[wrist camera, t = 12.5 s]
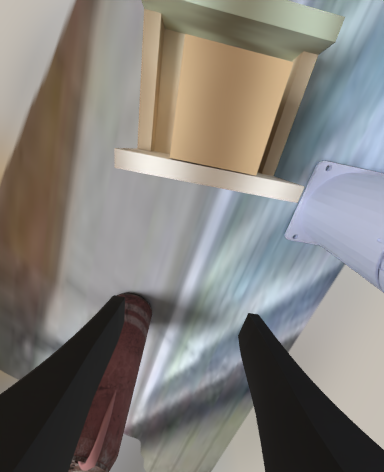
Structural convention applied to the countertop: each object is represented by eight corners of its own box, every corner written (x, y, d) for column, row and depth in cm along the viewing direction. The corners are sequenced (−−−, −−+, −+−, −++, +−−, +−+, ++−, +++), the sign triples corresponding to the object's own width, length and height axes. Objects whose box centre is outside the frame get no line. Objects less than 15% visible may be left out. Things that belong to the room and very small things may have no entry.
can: (162, 304, 24) (130, 472, 12) (138, 329, 26) (89, 493, 14) (122, 282, 23) (34, 450, 10) (100, 311, 25) (5, 478, 12)
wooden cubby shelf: (306, 44, 13) (414, -56, 7) (258, 183, 17) (297, 202, 11) (154, 3, 12) (114, -156, 6) (144, 160, 16) (114, 167, 10)
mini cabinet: (255, 87, 13) (299, 44, 8) (234, 166, 16) (256, 175, 10) (189, 70, 13) (187, 13, 7) (177, 154, 15) (169, 157, 10)
